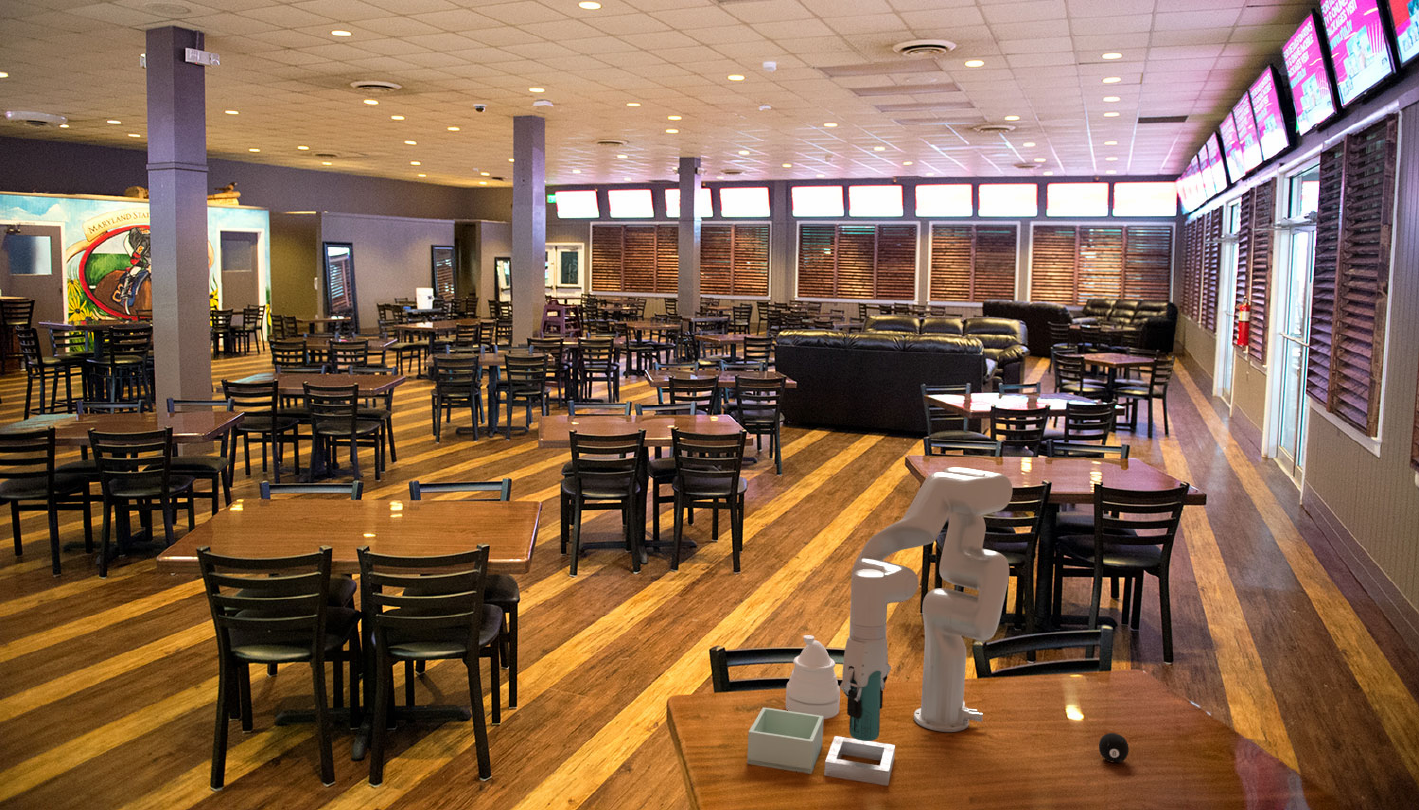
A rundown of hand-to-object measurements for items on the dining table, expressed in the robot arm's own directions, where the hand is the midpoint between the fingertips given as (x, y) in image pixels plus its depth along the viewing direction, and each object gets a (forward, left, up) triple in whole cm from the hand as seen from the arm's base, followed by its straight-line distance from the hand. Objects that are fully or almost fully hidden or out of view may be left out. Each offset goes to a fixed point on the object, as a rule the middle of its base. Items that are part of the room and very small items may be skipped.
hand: (864, 711), depth 215 cm
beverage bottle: (0, 0, -7) cm, 7 cm away
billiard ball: (-52, -21, -12) cm, 57 cm away
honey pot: (+15, -26, -12) cm, 33 cm away
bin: (+16, +1, -12) cm, 20 cm away
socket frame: (0, +1, -12) cm, 12 cm away
